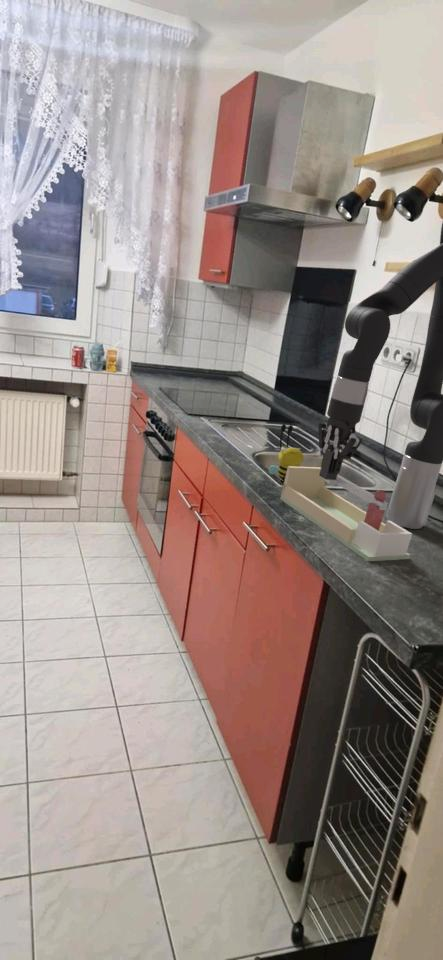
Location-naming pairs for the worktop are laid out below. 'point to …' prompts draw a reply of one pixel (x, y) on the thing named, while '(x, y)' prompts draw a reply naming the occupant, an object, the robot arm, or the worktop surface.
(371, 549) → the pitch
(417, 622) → the worktop surface
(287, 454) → the toy
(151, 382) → the worktop surface
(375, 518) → the grey red jointed piece
